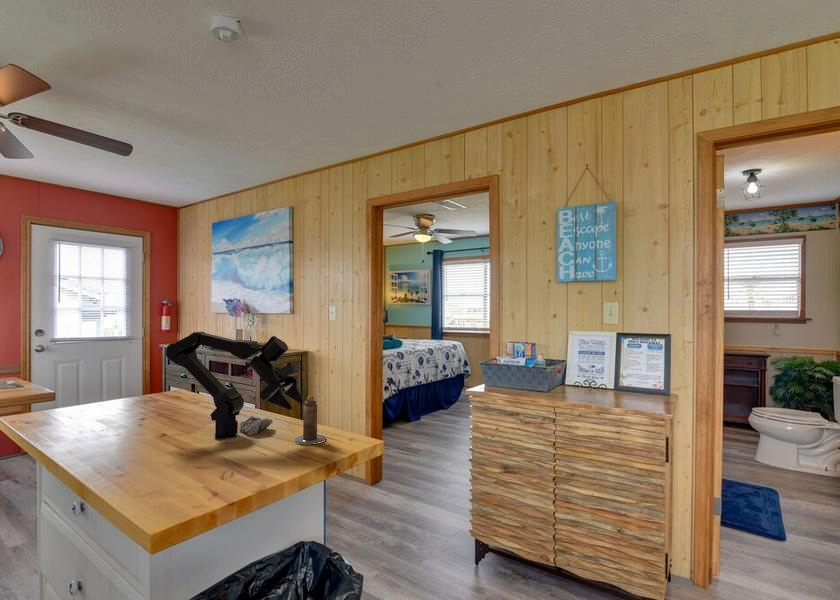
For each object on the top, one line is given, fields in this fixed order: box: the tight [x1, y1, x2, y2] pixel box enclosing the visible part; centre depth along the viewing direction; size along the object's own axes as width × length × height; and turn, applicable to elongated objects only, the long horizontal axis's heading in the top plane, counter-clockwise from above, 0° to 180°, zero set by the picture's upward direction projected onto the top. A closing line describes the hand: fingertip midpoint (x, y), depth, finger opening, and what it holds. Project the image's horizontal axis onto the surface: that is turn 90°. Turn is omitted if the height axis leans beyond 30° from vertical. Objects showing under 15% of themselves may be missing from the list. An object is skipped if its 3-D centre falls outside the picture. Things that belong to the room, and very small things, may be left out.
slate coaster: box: [293, 433, 327, 444], centre depth 146 cm, size 10×10×1 cm
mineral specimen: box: [239, 415, 273, 436], centre depth 157 cm, size 6×11×12 cm
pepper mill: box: [302, 394, 318, 441], centre depth 146 cm, size 4×4×14 cm
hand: (297, 405), depth 147 cm, fingers open, 9 cm apart
